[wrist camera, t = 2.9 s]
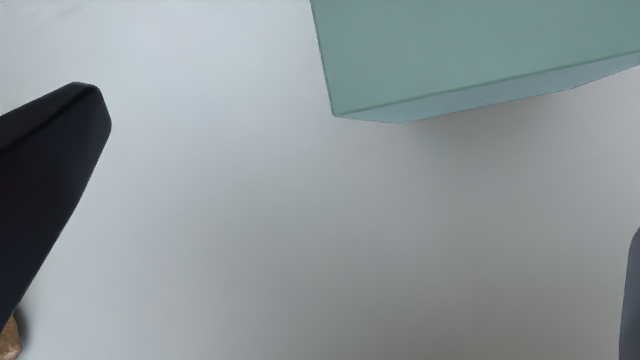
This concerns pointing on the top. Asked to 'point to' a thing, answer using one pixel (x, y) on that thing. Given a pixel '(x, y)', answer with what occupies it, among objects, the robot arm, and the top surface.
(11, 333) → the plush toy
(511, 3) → the tote bag
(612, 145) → the top surface
